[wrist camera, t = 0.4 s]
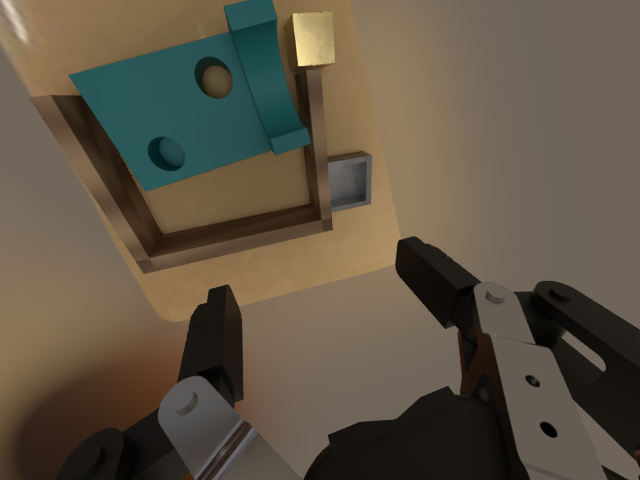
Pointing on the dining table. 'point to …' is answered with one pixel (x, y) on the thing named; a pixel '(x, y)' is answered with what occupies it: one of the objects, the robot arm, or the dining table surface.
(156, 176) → the teal l-shaped bracket
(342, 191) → the tray
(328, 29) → the key block
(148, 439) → the robot arm
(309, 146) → the bracket
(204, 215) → the dining table surface
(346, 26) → the dining table surface
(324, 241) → the dining table surface
